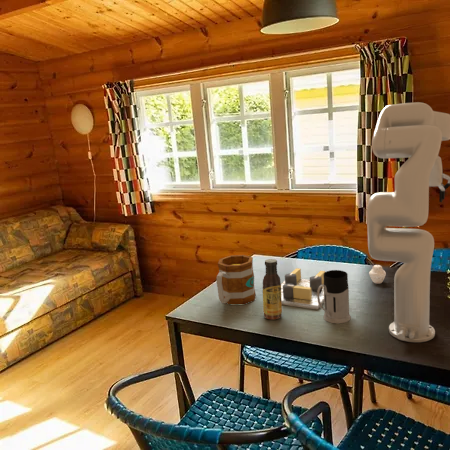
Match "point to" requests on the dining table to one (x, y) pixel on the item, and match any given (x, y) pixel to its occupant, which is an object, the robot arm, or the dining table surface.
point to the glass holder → (335, 296)
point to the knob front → (296, 292)
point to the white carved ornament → (377, 274)
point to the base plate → (303, 302)
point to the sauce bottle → (272, 291)
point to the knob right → (317, 281)
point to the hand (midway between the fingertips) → (426, 201)
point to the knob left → (293, 277)
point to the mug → (236, 279)
